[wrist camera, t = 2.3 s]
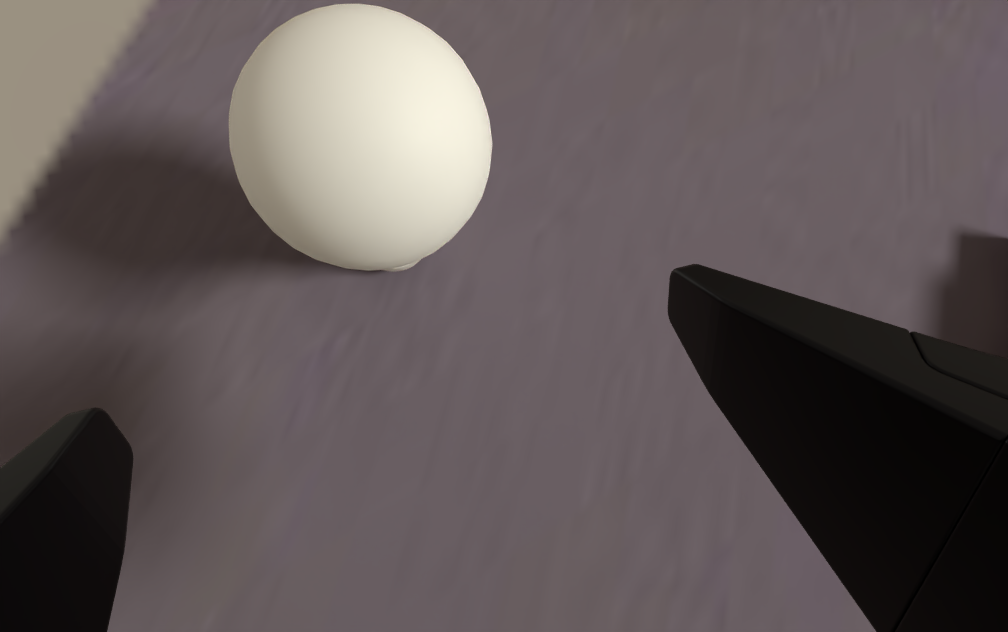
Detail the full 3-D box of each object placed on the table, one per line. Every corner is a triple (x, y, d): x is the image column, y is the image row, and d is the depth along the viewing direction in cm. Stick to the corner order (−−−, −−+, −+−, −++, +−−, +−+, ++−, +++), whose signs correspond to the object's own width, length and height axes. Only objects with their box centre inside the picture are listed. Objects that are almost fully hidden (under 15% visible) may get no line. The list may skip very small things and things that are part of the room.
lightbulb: (507, 267, 22) (562, 116, 11) (370, 356, 21) (287, 283, 10) (419, 142, 23) (392, -113, 12) (281, 222, 22) (116, 20, 11)
